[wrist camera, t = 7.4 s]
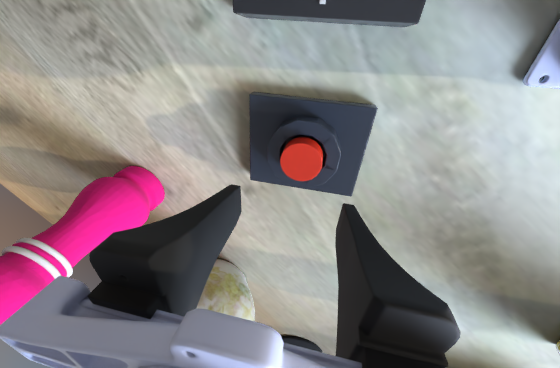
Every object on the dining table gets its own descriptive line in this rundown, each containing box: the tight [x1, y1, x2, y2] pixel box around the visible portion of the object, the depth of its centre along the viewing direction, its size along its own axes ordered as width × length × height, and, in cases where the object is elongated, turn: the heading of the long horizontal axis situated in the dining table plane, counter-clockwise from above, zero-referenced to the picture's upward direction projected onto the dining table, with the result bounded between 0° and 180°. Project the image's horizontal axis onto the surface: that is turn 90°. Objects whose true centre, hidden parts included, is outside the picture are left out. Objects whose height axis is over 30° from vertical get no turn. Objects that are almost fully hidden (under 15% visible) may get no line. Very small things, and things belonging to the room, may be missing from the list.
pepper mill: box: [0, 166, 165, 325], centre depth 22 cm, size 7×7×20 cm
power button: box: [280, 137, 323, 181], centre depth 19 cm, size 4×4×2 cm
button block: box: [250, 92, 377, 196], centre depth 21 cm, size 11×9×3 cm
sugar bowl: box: [197, 259, 255, 321], centre depth 31 cm, size 20×15×15 cm
